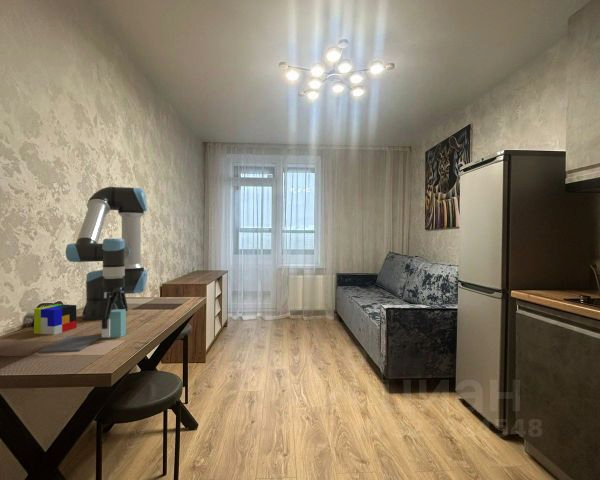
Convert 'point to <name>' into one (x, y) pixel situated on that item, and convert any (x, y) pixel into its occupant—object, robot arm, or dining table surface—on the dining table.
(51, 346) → the rubber mat
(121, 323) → the teal block
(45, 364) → the dining table surface
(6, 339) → the dining table surface
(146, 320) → the dining table surface
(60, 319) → the puzzle toy
